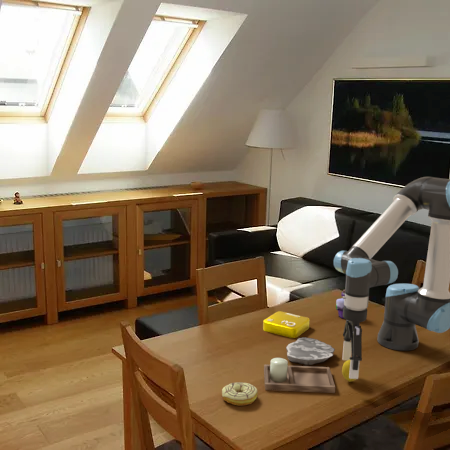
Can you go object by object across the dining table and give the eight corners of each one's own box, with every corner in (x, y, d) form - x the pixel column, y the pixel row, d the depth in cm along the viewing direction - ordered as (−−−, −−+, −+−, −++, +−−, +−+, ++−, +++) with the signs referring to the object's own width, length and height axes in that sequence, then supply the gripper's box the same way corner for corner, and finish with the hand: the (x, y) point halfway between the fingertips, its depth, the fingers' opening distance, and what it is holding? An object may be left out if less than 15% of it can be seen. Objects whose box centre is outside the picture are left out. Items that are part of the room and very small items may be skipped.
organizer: (328, 372, 196) (329, 367, 196) (334, 392, 183) (335, 387, 182) (264, 369, 197) (264, 364, 197) (265, 389, 183) (265, 384, 183)
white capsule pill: (286, 374, 193) (287, 358, 191) (287, 382, 187) (288, 365, 186) (269, 374, 193) (270, 357, 192) (270, 382, 187) (270, 364, 186)
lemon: (358, 386, 187) (360, 363, 185) (341, 384, 188) (342, 361, 186) (358, 379, 192) (360, 356, 191) (341, 377, 193) (342, 354, 192)
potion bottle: (332, 313, 252) (333, 287, 250) (351, 313, 253) (353, 286, 251) (338, 320, 244) (339, 293, 241) (357, 320, 245) (360, 293, 242)
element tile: (310, 328, 236) (311, 316, 235) (295, 340, 224) (295, 328, 223) (277, 320, 244) (278, 309, 243) (260, 331, 232) (261, 319, 231)
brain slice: (328, 372, 197) (329, 364, 197) (280, 363, 203) (280, 355, 202) (338, 350, 215) (338, 342, 215) (293, 342, 221) (293, 335, 220)
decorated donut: (228, 388, 184) (228, 377, 184) (260, 394, 181) (261, 383, 180) (217, 403, 175) (217, 392, 174) (251, 410, 171) (252, 398, 171)
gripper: (337, 293, 197) (332, 352, 201) (350, 320, 173) (344, 385, 177) (359, 295, 197) (354, 353, 201) (375, 321, 172) (369, 387, 177)
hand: (349, 368), depth 189 cm, fingers open, 13 cm apart
